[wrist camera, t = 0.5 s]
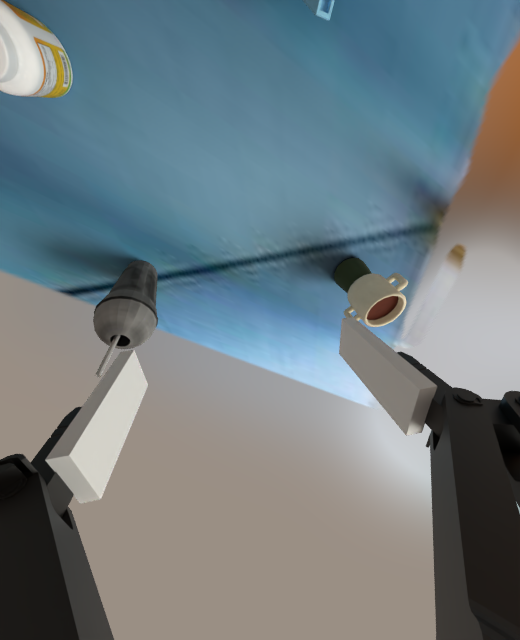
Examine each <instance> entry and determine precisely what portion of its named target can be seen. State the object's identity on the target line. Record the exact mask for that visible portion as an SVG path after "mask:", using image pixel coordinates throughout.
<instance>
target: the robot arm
mask: <svg viewBox="0 0 520 640" xmlns="http://www.w3.org/2000/svg"><path fill="white" fill-rule="evenodd" d="M339 354H340V355H341V356H342V358H343V359H344V360H345V361H346V362H347V364H348V365H349V366H350V367H351V369H352V370H353V371H354V372H355V373H356V375H357V376H358V377H359V378H360V380H361V381H362V382H363V383H364V384H365V386H366V387H367V388H368V389H369V391H370V392H371V393H372V394H373V396H374V397H375V398H376V399H377V400H378V402H379V403H380V404H381V405H382V407H383V408H384V409H385V410H386V411H387V413H388V414H389V415H390V416H391V418H392V419H393V420H394V421H395V422H396V424H397V425H398V426H399V427H400V429H401V430H402V431H403V432H404V433H405V435H412V434H417V433H421V432H422V430H423V427H424V424H425V423H426V424H427V425H428V426H429V427H430V429H431V433H430V436H429V439H428V442H427V444H426V447H429V446H430V453H431V482H432V483H431V484H432V514H433V546H434V577H435V606H436V640H520V514H519V510H518V507H517V504H518V505H519V507H520V392H518V391H509V392H506V393H505V395H504V397H503V399H502V400H492V399H482V398H481V397H480V396H478V395H477V394H475V393H473V392H471V391H469V390H466V389H462V388H452V387H451V386H449V385H448V384H447V383H445V382H444V381H443V380H442V379H440V378H439V377H438V376H436V375H435V374H434V373H432V372H431V371H430V370H429V369H426V367H425V366H423V365H422V364H420V363H419V362H418V361H417V360H416V359H414V358H413V357H412V356H409V355H407V354H405V353H403V352H397V353H396V352H395V351H394V350H393V349H391V348H390V347H389V346H388V345H387V344H385V343H384V342H383V341H382V340H380V339H379V338H378V337H377V336H376V335H374V334H373V333H372V332H371V331H369V330H368V329H367V328H366V327H365V326H363V325H362V324H361V323H360V322H358V321H357V320H356V319H355V318H354V317H350V318H344V319H342V325H341V338H340V350H339ZM147 386H148V384H147V381H146V379H145V377H144V374H143V371H142V369H141V367H140V364H139V361H138V359H137V356H136V354H135V351H134V350H131V351H124V352H121V353H120V354H119V355H118V357H117V358H116V359H115V361H114V362H113V364H112V365H111V367H110V368H109V370H108V371H107V372H106V374H105V375H104V377H103V378H102V380H101V381H100V383H99V384H98V385H97V387H96V388H95V389H94V391H93V392H92V394H91V395H90V397H89V398H88V399H87V401H86V402H85V404H84V405H83V406H82V407H77V408H75V409H74V410H73V411H71V412H70V413H69V414H68V415H67V416H66V417H65V418H64V419H63V420H62V422H61V423H60V424H59V426H58V427H57V429H56V430H55V431H54V432H53V434H52V435H51V438H49V439H48V440H47V442H46V443H45V444H44V446H43V447H42V448H41V450H40V451H39V452H38V454H37V455H36V456H35V458H34V459H33V460H32V462H31V463H30V462H29V461H28V460H27V459H26V457H25V456H24V455H23V454H14V455H10V456H7V457H5V458H3V459H1V460H0V640H114V638H113V635H112V632H111V629H110V626H109V623H108V620H107V617H106V614H105V611H104V608H103V605H102V602H101V599H100V596H99V593H98V590H97V587H96V584H95V581H94V578H93V575H92V572H91V569H90V565H89V562H88V560H87V556H86V553H85V550H84V547H83V544H82V541H81V538H80V535H79V532H78V529H77V526H76V523H75V520H74V517H73V514H72V511H71V510H70V509H69V507H68V505H69V503H70V501H71V499H72V497H73V495H74V497H75V498H76V499H77V500H78V501H79V503H85V502H90V501H95V500H99V499H101V497H102V495H103V492H104V490H105V487H106V485H107V483H108V480H109V478H110V476H111V473H112V471H113V468H114V466H115V463H116V461H117V459H118V456H119V454H120V451H121V449H122V447H123V444H124V442H125V439H126V437H127V435H128V432H129V430H130V427H131V425H132V422H133V420H134V418H135V415H136V413H137V410H138V408H139V405H140V403H141V401H142V398H143V396H144V394H145V391H146V389H147ZM516 502H517V503H516Z"/></svg>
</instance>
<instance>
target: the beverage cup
mask: <svg viewBox="0 0 520 640" xmlns="http://www.w3.org/2000/svg"><path fill="white" fill-rule="evenodd" d="M156 291H157V272H156V269H155V268H154V266H152V265H151V264H150V263H148V262H145V261H141V260H139V261H134V262H131V263H130V264H129V265H128V267H127V268H126V269H125V270H124V272H123V273H122V275H121V276H120V278H119V279H118V281H117V282H116V284H115V285H114V287H113V288H112V290H111V291H110V293H109V294H108V295H107V296H106V297H105V298H104V299H103V300H102V301H101V302H100V303H99V304H98V305H97V306H96V308H95V311H94V319H93V322H94V328H95V331H96V333H97V335H98V336H99V338H100V339H101V340H102V341H103V342H104V343H106V344H107V345H109V346H110V347H109V349H108V351H107V353H106V355H105V357H104V359H103V361H102V363H101V365H100V367H99V369H98V371H97V373H96V376H97V377H101V375H102V373H103V371H104V369H105V367H106V365H107V362H108V361H109V358H110V356H111V354H112V352H113V350H114V348H118V349H129V348H134V347H136V346H139V345H141V344H143V343H144V342H145V341H147V340H148V339H149V338H150V337H151V335H152V333H153V331H154V330H155V328H156V326H157V323H158V318H157V311H156Z"/></svg>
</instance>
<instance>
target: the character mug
mask: <svg viewBox="0 0 520 640" xmlns="http://www.w3.org/2000/svg"><path fill="white" fill-rule="evenodd" d="M334 279H335V282H336V283H337V284H338V285H339V286H340V287H341V288H342V289H343V290H344V291H346V292H347V293H348V301H349V303H350V305H351V306H350V307H349V308H347V309H346V310H345V311H344V315H345V316H346V318H350V317H353V316H352V315H351V314H350V313H351V312H352V311H354V310H355V311H356V313H357V315H356V316H354V318H355V319H356V320H357V321H358V320H360V319H362V320H363V322H364V323H365V324H366V325H368V326H370V327H379V326H383V325H386V324H388V323H390V322H392V321H393V320H395V319H396V318H397V317H398V316H399V315H400V314H401V313H402V311H403V310H404V308H405V305H406V298H405V296H404V295H403V294H402V293H401V292H400V290H401V289H403V288H404V287H406V286H407V284H408V281H407V280H406V279H405V278H404V277H402V276H401V275H400V274H398V273H394V274H392V275H391V276H389V277H388V278H387V279H385V278H384V277H382V276H381V275H379V274H373V273H371V271H370V270H369V268H368V267H367V266H366V264H365V263H364V262H363V261H362V260H360V259H359V258H350V259H347V260H345V261H343V262H342V263H341V264H340V265H339V266H338V267H337V269H336V271H335V275H334ZM394 280H397V281H398V282H399V284H398V285H396V286H395V287H394V286H393V285H392V284H391V282H393V281H394Z"/></svg>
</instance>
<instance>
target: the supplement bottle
mask: <svg viewBox="0 0 520 640" xmlns="http://www.w3.org/2000/svg"><path fill="white" fill-rule="evenodd" d="M72 79H73V75H72V68H71V64H70V61H69V58H68V56H67V54H66V52H65V50H64V48H63V46H62V45H61V43H60V42H59V40H58V39H57V38H56V36H55V35H54V34H53V33H52V32H51V31H50V30H49V29H48V28H47V27H46V26H45V25H44V24H43V23H41V22H40V21H39V20H37V19H36V18H34V17H33V16H31V15H29V14H27V13H25V12H24V11H22V10H20V9H18V8H16V7H14V6H13V5H11V4H9V3H7V2H6V1H4V0H0V91H2V92H5V93H8V94H11V95H17V96H30V97H48V98H57V97H61V96H64V95H65V94H67V93H68V91H69V90H70V88H71V85H72Z"/></svg>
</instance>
